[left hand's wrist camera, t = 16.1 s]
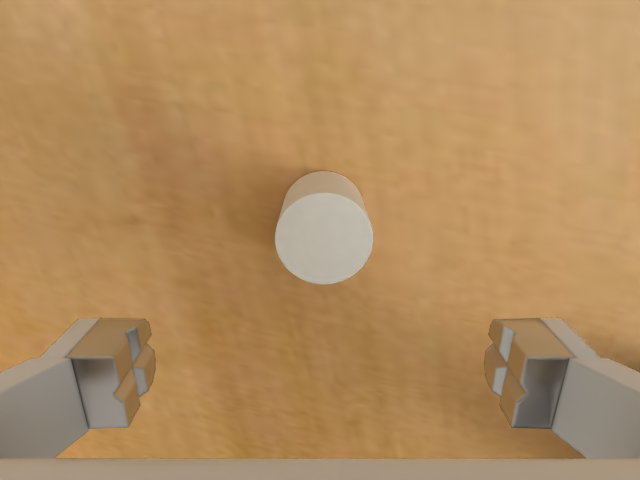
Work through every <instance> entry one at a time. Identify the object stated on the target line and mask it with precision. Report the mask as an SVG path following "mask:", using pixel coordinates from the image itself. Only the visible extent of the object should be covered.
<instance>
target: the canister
mask: <svg viewBox="0 0 640 480" xmlns="http://www.w3.org/2000/svg"><path fill="white" fill-rule="evenodd" d="M275 246H276V250H277V253H278V256H279V258H280V260H281V261H282V263H283V264H284V266H285V267H286V268H287V269H288V270H289V271H290V272H291V273H292V274H294V275H295V276H297V277H298V278H300V279H302V280H304V281H307V282H310V283H314V284H333V283H338V282H341V281H344V280H346V279H348V278H350V277H351V276H353V275H354V274H356V273H357V272H358V271H359V270H360V269H361V268H362V267H363V266H364V264H365V263H366V261H367V260H368V258H369V256H370V253H371V250H372V246H373V230H372V226H371V223H370V220H369V217H368V214H367V211H366V208H365V205H364V202H363V199H362V197H361V194H360V192H359V190H358V189H357V187H356V186H355V185H354V184H353V183H352V182H351V181H350V180H349V179H347V178H346V177H344V176H343V175H340V174H338V173H335V172H330V171H317V172H312V173H309V174H307V175H304V176H303V177H301V178H299V179H298V180H297V181H296V182H295V183H294V184H293V185H292V186H291V187H290V189H289V190H288V192H287V194H286V196H285V199H284V202H283V206H282V209H281V213H280V216H279V220H278V223H277V227H276V231H275Z"/></svg>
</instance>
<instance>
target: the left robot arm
mask: <svg viewBox="0 0 640 480" xmlns="http://www.w3.org/2000/svg"><path fill="white" fill-rule="evenodd" d="M150 336H151V330H150V325H149V322H148V321H147V320H146V319H133V318H81V319H77V320H76V321H75V322H74V323H73V324H72V325H71V326H70V327H69V328H68V329H67V330H66V331H65V332H64V333H63V334H62V335H61V336H60V337H59V338H58V339H57V340H56V341H55V342H54V343H53V344H52V345H51V346H50V347H49V348H48V349H47V350H46V351H45V353H44V354H43V355H42V356H41V357H40V358H31V359H29V360H27V361H24V362H22V363H20V364H18V365H16V366H13V367H11V368H9V369H7V370H4V371H2V372H0V480H640V372H638V371H636V370H633V369H631V368H629V367H627V366H624V365H622V364H620V363H618V362H616V361H613V360H611V359H609V358H600V356H599V355H598V354H597V353H596V352H595V351H594V350H593V349H592V348H591V347H590V346H589V345H588V344H587V343H586V342H585V341H584V340H583V339H582V338H581V337H580V336H579V335H578V334H577V333H576V332H575V331H574V330H573V329H572V328H571V327H570V326H569V325H568V324H567V323H566V322H565V321H564V320H563V319H560V318H557V317H556V318H528V319H494V320H493V321H492V323H491V325H490V329H489V336H490V338H491V340H492V341H493V344H492V345H491V346H490V347H489V348H488V349H487V350H486V353H485V361H484V366H485V375H486V379H487V382H488V384H489V386H490V388H491V390H492V391H493V392H494V393H496V394H497V395H499V396H500V397H501V400H500V407H501V409H502V411H503V412H504V414H505V416H506V418H507V420H508V422H509V423H510V425H511V427H512V428H545V429H551V431H553V432H554V433H555V434H556V435H558V436H559V437H560V438H561V439H563V440H564V441H565V442H567V443H568V444H569V445H570V446H572V447H573V448H574V449H575V450H577V451H578V452H579V453H580V454H582V455H583V456H584V457H586V458H481V459H123V458H55V457H56V456H57V455H58V454H60V453H61V452H62V451H64V450H65V449H66V448H67V447H69V446H70V445H71V444H72V443H74V442H75V441H76V440H77V439H79V438H80V437H81V436H83V435H84V434H85V433H86V432H88V431H89V429H94V428H128V427H129V425H130V423H131V422H132V420H133V418H134V416H135V414H136V413H137V411H138V409H139V407H140V400H139V397H140V396H141V395H143V394H144V393H146V392H147V391H148V390H149V388H150V386H151V384H152V382H153V378H154V374H155V367H156V359H155V353H154V350H153V349H152V348H151V347H150V346H149V345H148V344H147V341H148V340H149V338H150Z"/></svg>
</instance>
